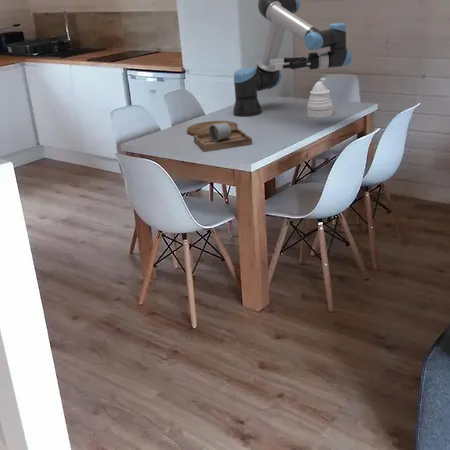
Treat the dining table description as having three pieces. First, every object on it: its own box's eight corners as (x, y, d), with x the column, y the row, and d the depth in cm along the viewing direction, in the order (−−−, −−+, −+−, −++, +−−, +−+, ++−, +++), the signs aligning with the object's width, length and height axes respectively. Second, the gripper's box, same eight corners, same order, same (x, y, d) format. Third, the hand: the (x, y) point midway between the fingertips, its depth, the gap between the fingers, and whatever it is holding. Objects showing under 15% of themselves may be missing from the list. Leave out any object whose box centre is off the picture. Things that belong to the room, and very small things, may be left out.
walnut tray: (194, 141, 294) (193, 135, 293) (239, 134, 299) (238, 128, 298) (204, 151, 276) (203, 145, 275) (252, 144, 281) (251, 138, 280)
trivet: (176, 134, 310) (176, 130, 309) (210, 122, 327) (209, 118, 327) (215, 139, 295) (214, 135, 294) (248, 127, 312) (247, 123, 311)
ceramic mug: (233, 138, 287) (231, 122, 284) (219, 142, 282) (217, 126, 280) (219, 135, 295) (217, 119, 292) (205, 139, 290) (203, 123, 288)
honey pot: (333, 111, 327) (333, 76, 320) (331, 117, 315) (330, 80, 308) (308, 111, 330) (307, 77, 323) (305, 117, 319) (304, 81, 312)
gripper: (324, 72, 283) (277, 77, 282) (311, 64, 306) (268, 69, 305) (324, 55, 280) (277, 60, 279) (311, 49, 303) (267, 53, 302)
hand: (272, 64), depth 292 cm, fingers open, 13 cm apart
